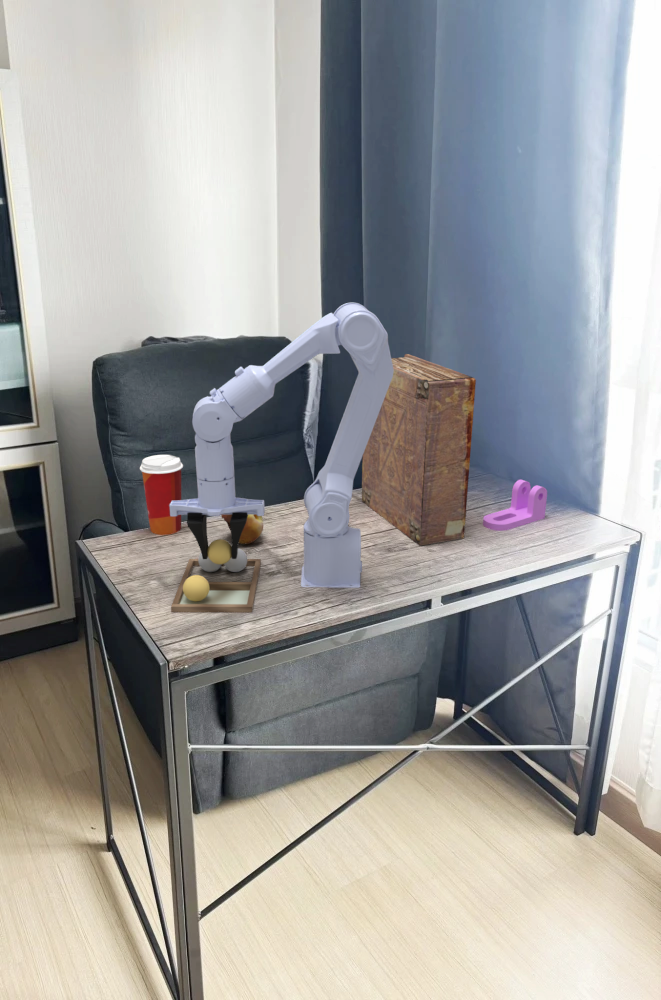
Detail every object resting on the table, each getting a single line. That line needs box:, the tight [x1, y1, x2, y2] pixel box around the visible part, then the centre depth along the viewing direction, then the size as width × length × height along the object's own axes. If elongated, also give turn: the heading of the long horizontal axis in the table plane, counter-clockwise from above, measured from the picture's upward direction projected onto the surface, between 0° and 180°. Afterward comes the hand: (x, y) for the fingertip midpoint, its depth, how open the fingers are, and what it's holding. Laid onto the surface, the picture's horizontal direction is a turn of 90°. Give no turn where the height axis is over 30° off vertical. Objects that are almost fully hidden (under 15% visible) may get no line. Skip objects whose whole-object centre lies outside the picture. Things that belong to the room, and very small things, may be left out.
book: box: [361, 353, 477, 547], centre depth 152 cm, size 25×9×30 cm, turn 23°
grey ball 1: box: [197, 552, 222, 573], centre depth 132 cm, size 4×4×4 cm
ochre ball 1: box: [183, 574, 209, 601], centre depth 123 cm, size 4×4×4 cm
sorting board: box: [170, 558, 262, 614], centre depth 127 cm, size 12×17×2 cm
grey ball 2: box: [223, 547, 248, 573], centre depth 132 cm, size 4×4×4 cm
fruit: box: [220, 514, 264, 545], centre depth 144 cm, size 8×8×8 cm
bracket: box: [482, 479, 548, 532], centre depth 155 cm, size 13×6×7 cm, turn 125°
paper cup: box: [139, 454, 184, 536], centre depth 148 cm, size 8×8×14 cm
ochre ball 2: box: [207, 538, 232, 564], centre depth 128 cm, size 4×4×4 cm
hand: (220, 556), depth 128 cm, fingers closed on ochre ball 2, 4 cm apart
